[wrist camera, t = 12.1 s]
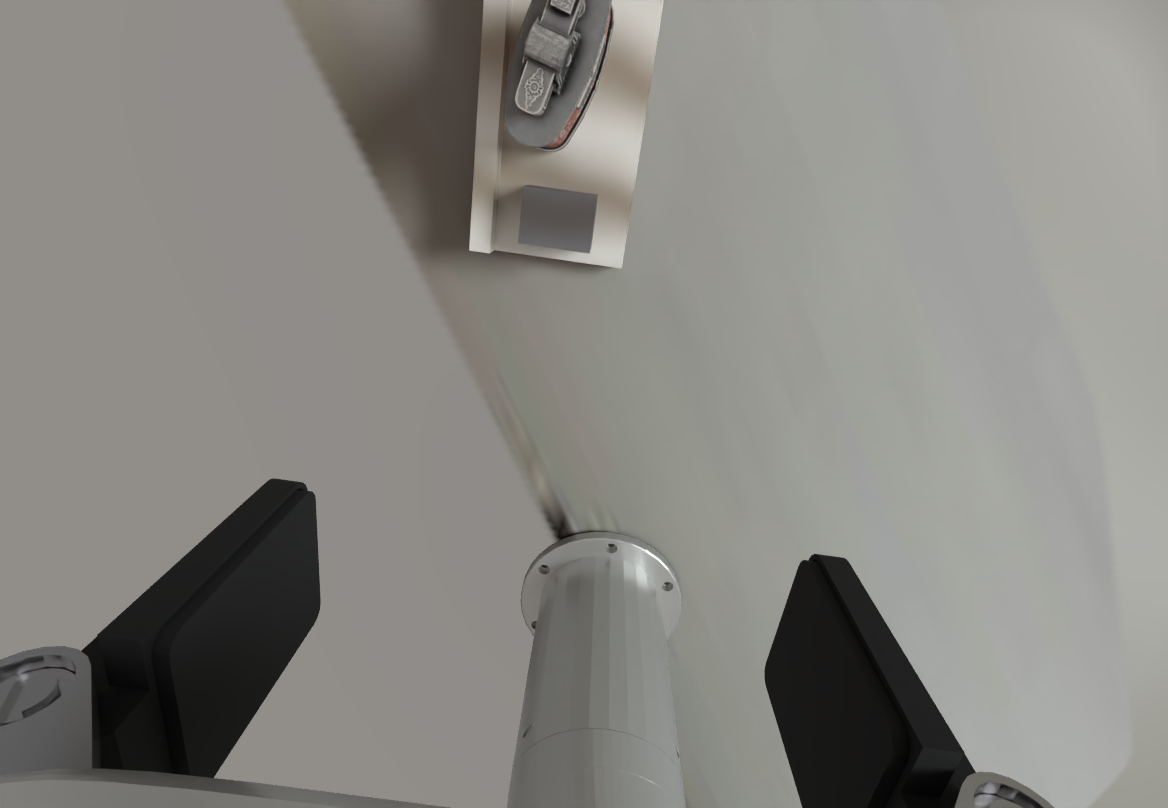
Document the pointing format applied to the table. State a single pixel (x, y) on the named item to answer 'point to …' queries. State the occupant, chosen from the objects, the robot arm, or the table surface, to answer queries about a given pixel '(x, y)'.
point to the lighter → (556, 70)
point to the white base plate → (578, 171)
